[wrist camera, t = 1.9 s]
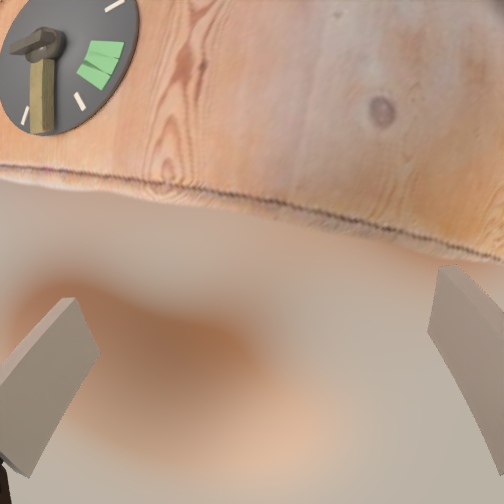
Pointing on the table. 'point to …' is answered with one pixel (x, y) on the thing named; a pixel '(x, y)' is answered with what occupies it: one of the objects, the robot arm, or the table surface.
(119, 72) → the dial
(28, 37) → the needle
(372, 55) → the table surface
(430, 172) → the table surface
